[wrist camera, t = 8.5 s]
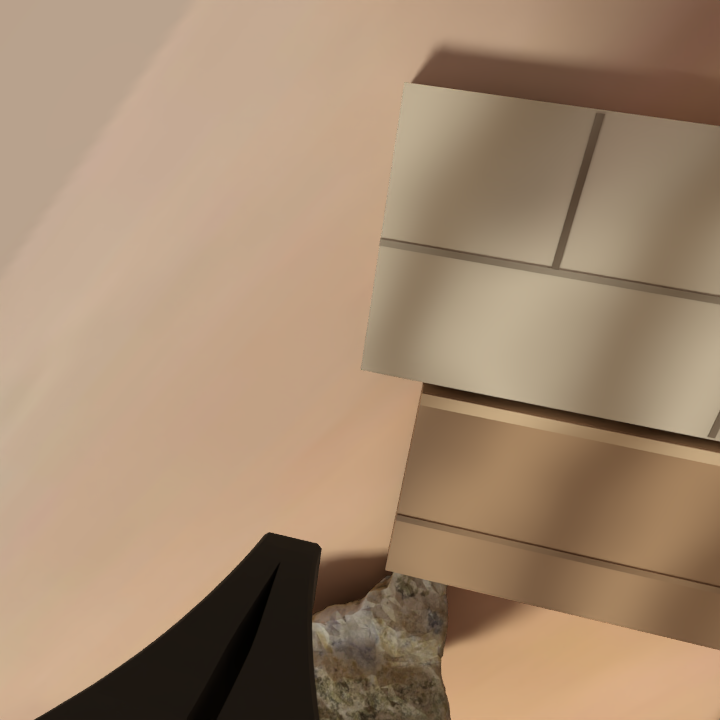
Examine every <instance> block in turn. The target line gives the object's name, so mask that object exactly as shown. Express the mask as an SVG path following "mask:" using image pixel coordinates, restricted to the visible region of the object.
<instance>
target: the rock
mask: <svg viewBox="0 0 720 720" xmlns="http://www.w3.org/2000/svg"><path fill="white" fill-rule="evenodd" d="M446 587H447V585H445V584H441V583H437V582H433V581H429V580H424V579H420V578H416V577H412V576H408V575H403V574H399V573H395V572H393V573H392V575H391V576H386V577H385V578H384V579H382V580H381V581H380V582H379V583H377V584H376V586H375V587H374V588H372V589H371V590H370V591H369V592H368V594H367V595H366V596H365V597H364V598H362V599H359V600H355V601H352V602H349V603H347V604H340V605H332V606H328V607H327V608H325V609H324V610H323V611H319V612H316V613H315V614H314V615H312V641H313V661H314V674H315V685H316V694H317V703H318V711H319V718H320V720H451V718H450V708H449V702H448V698H447V695H446V693H445V686H444V684H443V680H442V676H441V657H442V656H443V650H444V645H445V640H446V631H447V626H448V604H447V603H448V602H447V597H446Z"/></svg>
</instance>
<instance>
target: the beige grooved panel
mask: <svg viewBox="0 0 720 720" xmlns="http://www.w3.org/2000/svg"><path fill="white" fill-rule="evenodd" d="M361 370H364V371H369V372H374V373H379V374H384V375H389V376H394V377H399V378H404V379H409V380H414V381H419V382H424V383H429V384H434V385H439V386H444V387H449V388H454V389H459V390H464V391H469V392H474V393H479V394H484V395H489V396H494V397H500V398H505V399H510V400H515V401H520V402H525V403H530V404H535V405H540V406H545V407H550V408H555V409H560V410H565V411H570V412H575V413H580V414H585V415H590V416H595V417H600V418H605V419H610V420H615V421H620V422H625V423H630V424H635V425H640V426H645V427H650V428H655V429H660V430H665V431H670V432H675V433H680V434H685V435H690V436H695V437H700V438H705V439H710V440H715V441H720V126H715V125H708V124H701V123H694V122H686V121H679V120H672V119H665V118H658V117H651V116H643V115H636V114H629V113H622V112H615V111H608V110H600V109H593V108H586V107H579V106H572V105H564V104H557V103H550V102H543V101H536V100H529V99H521V98H514V97H507V96H500V95H493V94H486V93H478V92H471V91H464V90H457V89H450V88H443V87H435V86H428V85H421V84H414V83H407V82H404V88H403V95H402V101H401V108H400V115H399V121H398V128H397V134H396V141H395V148H394V154H393V161H392V167H391V174H390V180H389V187H388V194H387V200H386V207H385V213H384V220H383V227H382V233H381V239H380V245H379V253H378V260H377V266H376V273H375V279H374V286H373V293H372V299H371V306H370V312H369V319H368V325H367V332H366V339H365V345H364V352H363V358H362V365H361Z"/></svg>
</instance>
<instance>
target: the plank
mask: <svg viewBox="0 0 720 720" xmlns="http://www.w3.org/2000/svg"><path fill="white" fill-rule="evenodd" d="M385 570H387V571H391V572H395V573H399V574H403V575H408V576H412V577H416V578H420V579H424V580H429V581H433V582H437V583H441V584H445V585H449V586H454V587H458V588H462V589H466V590H470V591H475V592H479V593H483V594H487V595H491V596H496V597H500V598H504V599H508V600H512V601H516V602H521V603H525V604H529V605H533V606H537V607H542V608H546V609H550V610H554V611H558V612H563V613H567V614H571V615H575V616H579V617H583V618H588V619H592V620H596V621H600V622H604V623H609V624H613V625H617V626H621V627H625V628H630V629H634V630H638V631H642V632H646V633H650V634H655V635H659V636H663V637H667V638H671V639H676V640H680V641H684V642H688V643H692V644H697V645H701V646H705V647H709V648H713V649H717V650H720V441H715V440H710V439H705V438H700V437H695V436H690V435H685V434H680V433H675V432H670V431H665V430H660V429H655V428H650V427H645V426H640V425H635V424H630V423H625V422H620V421H615V420H610V419H605V418H600V417H595V416H590V415H585V414H580V413H575V412H570V411H565V410H560V409H555V408H550V407H545V406H540V405H535V404H530V403H525V402H520V401H515V400H510V399H505V398H500V397H494V396H489V395H484V394H479V393H474V392H469V391H464V390H459V389H454V388H449V387H444V386H439V385H434V384H429V383H424V382H423V386H422V391H421V396H420V401H419V405H418V410H417V415H416V420H415V425H414V430H413V434H412V439H411V444H410V449H409V454H408V459H407V463H406V468H405V473H404V478H403V483H402V488H401V492H400V497H399V502H398V507H397V512H396V517H395V521H394V526H393V531H392V536H391V541H390V545H389V551H388V557H387V562H386V568H385Z"/></svg>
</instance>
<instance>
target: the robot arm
mask: <svg viewBox="0 0 720 720" xmlns="http://www.w3.org/2000/svg"><path fill="white" fill-rule="evenodd" d="M320 557H321V547H320V546H319V545H318V544H317V543H312V542H308V541H304V540H300V539H296V538H291V537H287V536H283V535H279V534H274V533H270V532H269V533H267V534H265V535H264V536H263V537H262V539H261V540H260V541H259V542H258V543H257V545H256V546H255V547H254V548H253V549H252V550H251V551H250V553H249V554H248V555H247V556H246V557H245V558H244V559H243V560H242V561H241V562H240V563H239V565H238V566H237V567H236V568H235V569H234V570H233V571H232V572H231V573H230V574H229V575H228V576H227V577H226V578H225V579H224V580H223V581H222V582H221V583H220V584H219V585H218V586H217V587H216V588H215V589H214V590H213V591H212V592H211V593H210V594H208V595H207V596H206V597H205V598H204V599H203V600H202V601H201V602H200V603H199V604H197V605H196V606H195V607H194V608H193V609H192V610H191V611H190V612H188V613H187V614H186V615H185V616H184V617H183V618H182V619H181V620H179V621H178V622H177V623H176V624H175V625H174V626H172V627H171V628H170V629H169V630H167V631H166V632H165V633H164V634H162V635H161V636H160V637H159V638H157V639H156V640H155V641H154V642H152V643H151V644H150V645H148V646H147V647H146V648H144V649H143V650H142V651H140V652H139V653H138V654H136V655H135V656H134V657H132V658H131V659H129V660H128V661H127V662H125V663H124V664H122V665H121V666H119V667H118V668H117V669H115V670H114V671H112V672H111V673H109V674H108V675H106V676H105V677H103V678H102V679H100V680H99V681H97V682H96V683H94V684H93V685H91V686H90V687H88V688H87V689H85V690H83V691H82V692H80V693H78V694H77V695H75V696H73V697H72V698H70V699H68V700H67V701H65V702H63V703H62V704H60V705H58V706H57V707H55V708H53V709H52V710H50V711H48V712H47V713H45V714H43V715H42V716H40V717H38V718H36V719H35V720H320V718H319V711H318V703H317V694H316V685H315V674H314V661H313V641H312V609H313V605H314V600H315V592H316V585H317V578H318V571H319V564H320Z"/></svg>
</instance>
